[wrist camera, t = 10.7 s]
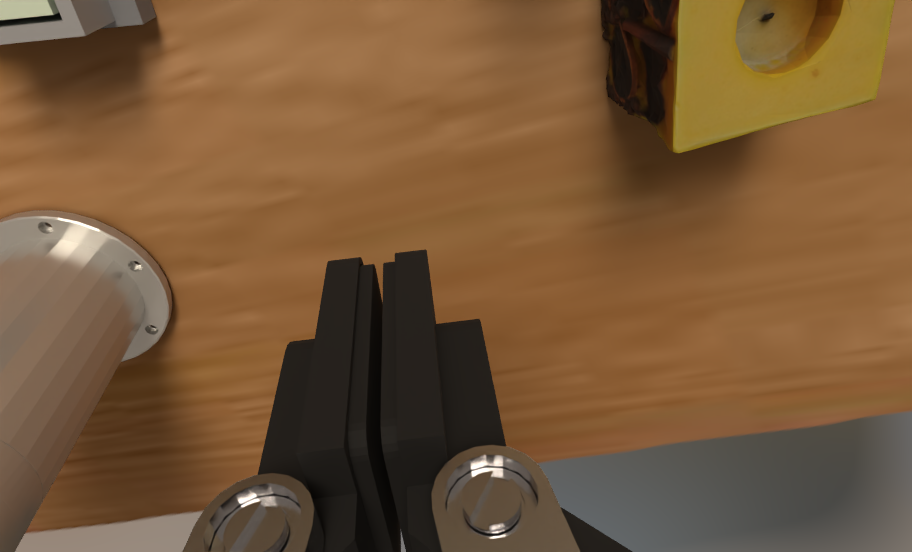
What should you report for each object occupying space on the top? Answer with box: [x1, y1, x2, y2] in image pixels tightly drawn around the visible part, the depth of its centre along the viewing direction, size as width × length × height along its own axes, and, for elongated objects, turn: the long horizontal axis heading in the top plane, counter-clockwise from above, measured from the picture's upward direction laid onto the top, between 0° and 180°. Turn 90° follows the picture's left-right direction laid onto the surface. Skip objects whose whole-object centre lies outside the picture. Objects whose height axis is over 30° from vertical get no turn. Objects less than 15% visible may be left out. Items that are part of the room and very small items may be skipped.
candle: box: [601, 0, 895, 153], centre depth 29 cm, size 10×10×10 cm
